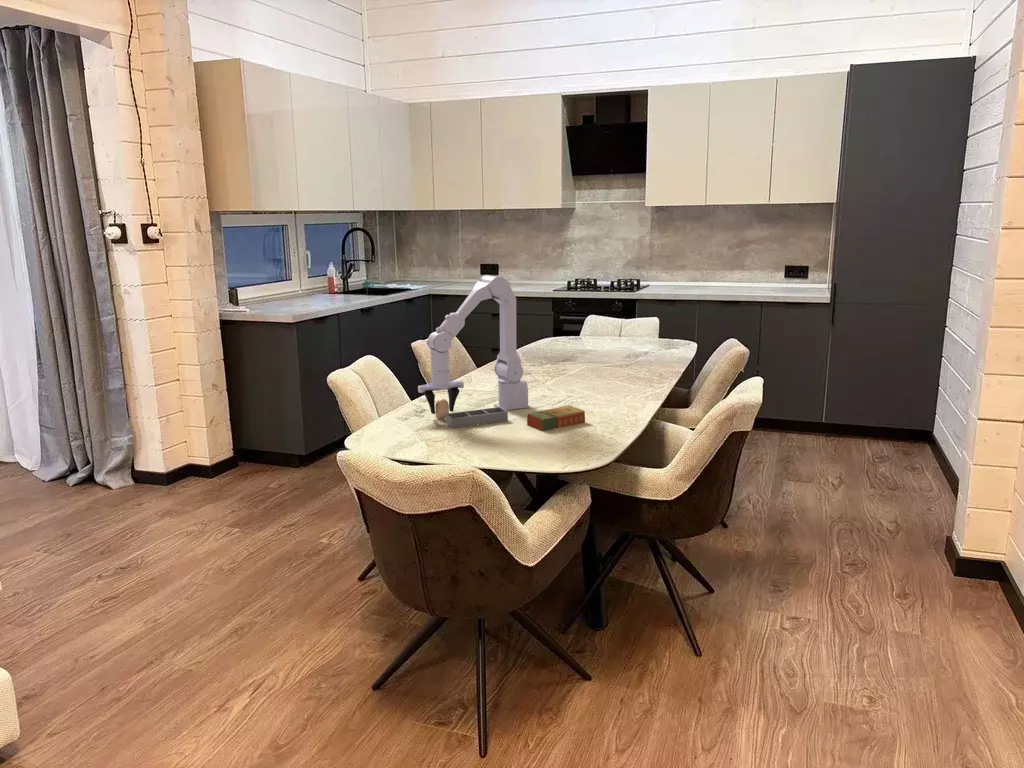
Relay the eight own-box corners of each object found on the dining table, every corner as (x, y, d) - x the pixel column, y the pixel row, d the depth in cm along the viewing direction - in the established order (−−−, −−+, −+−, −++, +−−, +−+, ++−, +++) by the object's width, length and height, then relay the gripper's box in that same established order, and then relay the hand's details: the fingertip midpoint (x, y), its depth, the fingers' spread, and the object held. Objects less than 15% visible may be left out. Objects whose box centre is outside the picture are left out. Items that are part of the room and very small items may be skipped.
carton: (585, 423, 229) (585, 410, 228) (542, 432, 220) (542, 418, 219) (569, 417, 236) (569, 404, 235) (526, 426, 227) (526, 412, 226)
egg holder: (500, 415, 238) (500, 406, 237) (507, 420, 232) (507, 411, 232) (445, 423, 231) (445, 413, 231) (452, 428, 226) (451, 418, 225)
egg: (446, 415, 241) (446, 396, 239) (450, 418, 237) (450, 399, 235) (434, 416, 239) (433, 398, 238) (438, 420, 235) (437, 401, 234)
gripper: (421, 375, 228) (423, 417, 231) (466, 370, 233) (467, 412, 237) (415, 370, 234) (417, 412, 237) (459, 366, 240) (460, 407, 243)
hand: (442, 412), depth 237 cm, fingers open, 5 cm apart
